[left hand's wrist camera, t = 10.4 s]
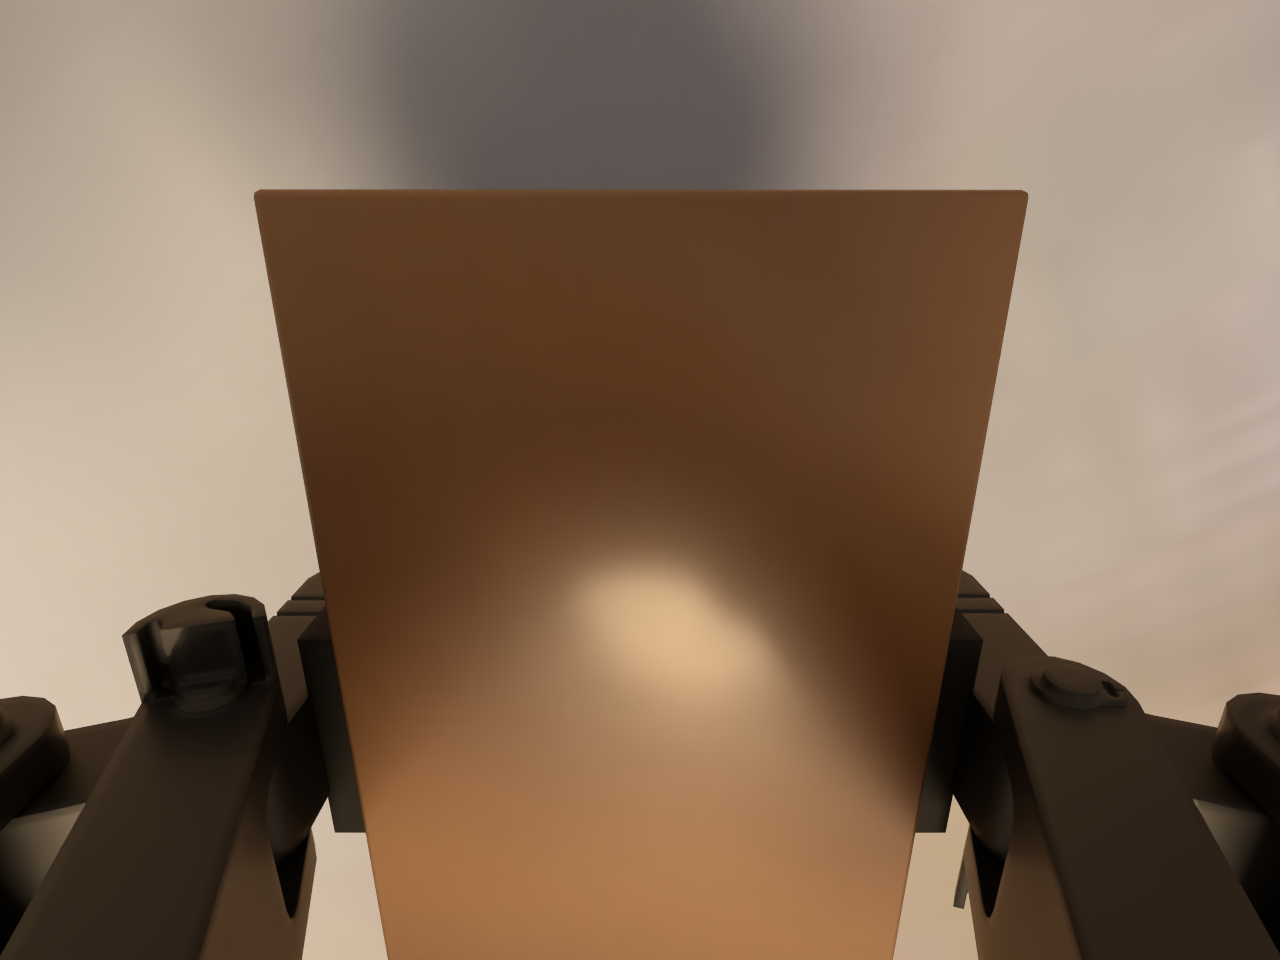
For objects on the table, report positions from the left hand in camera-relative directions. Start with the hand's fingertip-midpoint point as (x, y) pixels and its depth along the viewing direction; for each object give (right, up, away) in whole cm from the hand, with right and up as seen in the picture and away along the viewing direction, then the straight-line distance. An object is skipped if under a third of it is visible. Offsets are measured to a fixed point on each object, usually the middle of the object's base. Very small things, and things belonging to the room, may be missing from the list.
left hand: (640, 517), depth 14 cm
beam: (0, -29, +11) cm, 31 cm away
